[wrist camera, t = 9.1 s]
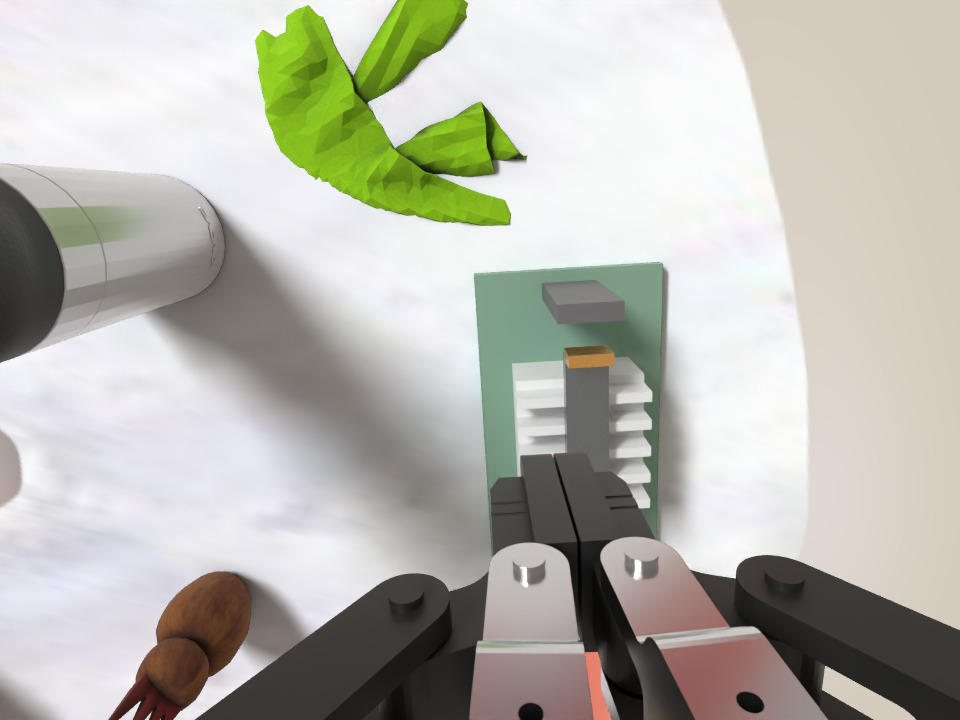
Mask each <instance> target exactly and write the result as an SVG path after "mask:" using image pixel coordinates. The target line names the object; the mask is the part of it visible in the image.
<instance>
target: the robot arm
mask: <svg viewBox="0 0 960 720" xmlns="http://www.w3.org/2000/svg"><path fill="white" fill-rule="evenodd" d="M224 252H225V243H224V234H223V230H222V227H221V223H220V221H219V219H218V217H217V215H216V213H215V211H214V209H213V208H212V207H211V205H210V204H209V203H208V201H207V200H206V199H205V198H204V197H203V196H202V195H201V194H200V193H199V192H198V191H196V190H195V189H194V188H192V187H191V186H189V185H188V184H186V183H184V182H183V181H180V180H177V179H175V178H172V177H169V176H163V175H156V174H142V173H130V172H118V171H104V170H89V169H75V168H61V167H47V166H33V165H18V164H2V163H0V363H1V362H4V361H6V360H9V359H12V358H15V357H18V356H21V355H24V354H27V353H30V352H33V351H35V350H38V349H41V348H44V347H47V346H50V345H53V344H56V343H58V342H61V341H64V340H67V339H69V338H72V337H75V336H78V335H81V334H84V333H87V332H90V331H93V330H96V329H99V328H102V327H105V326H107V325H110V324H113V323H116V322H119V321H122V320H125V319H128V318H131V317H134V316H137V315H140V314H142V313H145V312H148V311H151V310H154V309H157V308H160V307H163V306H166V305H169V304H172V303H175V302H178V301H181V300H184V299H187V298H190V297H193V296H195V295H196V294H198V293H200V292H202V291H204V290H205V289H206V288H207V287H208V286H209V285H210V284H211V283H212V282H213V281H214V279H215V278H216V276H217V275H218V273H219V271H220V268H221V266H222V263H223V259H224ZM520 474H521V477H505V478H498V480H497V481H496V483H495V484H494V485H493V487H492V488H491V489H490V496H491V518H492V541H493V558H492V560H491V562H490V565H489V571H488V572H487V573H486V575H485V576H483V577H482V578H481V579H480V580H478V581H477V582H475V583H473V584H471V585H469V586H466V587H463V588H460V589H457V590H454V591H450V592H449V591H448V589H447V587H446V586H445V584H444V583H443V582H442V581H440V580H439V579H437V578H435V577H433V576H430V575H426V574H417V573H416V574H403V575H399V576H395V577H393V578H390V579H388V580H386V581H384V582H382V583H380V584H379V585H377V586H376V587H375V588H373V589H372V590H371V591H369V592H368V593H366V594H365V595H364V596H362V597H361V598H360V599H358V600H357V601H356V602H354V603H353V604H352V605H350V606H349V607H347V608H346V609H345V610H343V611H342V612H341V613H339V614H338V615H337V616H335V617H334V618H332V619H331V620H330V621H328V622H327V623H326V624H324V625H323V626H322V627H320V628H319V629H318V630H316V631H315V632H313V633H312V634H311V635H309V636H308V637H307V638H305V639H304V640H303V641H301V642H300V643H298V644H297V645H296V646H294V647H293V648H292V649H290V650H289V651H288V652H286V653H285V654H284V655H282V656H281V657H279V658H278V659H277V660H275V661H274V662H273V663H271V664H270V665H269V666H267V667H266V668H265V669H263V670H262V671H260V672H259V673H258V674H256V675H255V676H254V677H252V678H251V679H250V680H248V681H247V682H245V683H244V684H243V685H241V686H240V687H239V688H237V689H236V690H235V691H233V692H232V693H231V694H229V695H228V696H226V697H225V698H224V699H222V700H221V701H220V702H218V703H217V704H216V705H214V706H213V707H211V708H210V709H209V710H207V711H206V712H205V713H203V714H202V715H201V716H199V717H198V718H197V719H195V720H594V718H593V710H592V703H591V696H590V688H589V682H588V674H587V667H586V659H585V652H598V654H599V658H600V661H601V689H602V693H603V696H604V699H605V702H606V705H607V708H608V711H609V714H610V717H611V719H612V720H873V719H871V718H870V717H868V716H866V715H864V714H863V713H861V712H859V711H858V710H856V709H854V708H852V707H851V706H849V705H847V704H845V703H844V702H842V701H840V700H838V699H837V698H835V697H833V696H832V695H830V694H828V693H826V692H825V691H823V690H822V684H823V677H824V669H825V666H827V667H829V668H831V669H833V670H835V671H837V672H838V673H840V674H842V675H844V676H846V677H847V678H849V679H851V680H853V681H855V682H857V683H859V684H861V685H862V686H864V687H866V688H868V689H870V690H871V691H873V692H875V693H877V694H879V695H881V696H882V697H884V698H886V699H888V700H890V701H892V702H894V703H895V704H897V705H899V706H900V707H902V708H904V709H905V710H906V711H908V712H909V713H910V714H911V715H912V716H914V717H915V719H916V720H960V630H958V629H955V628H952V627H951V626H948V625H946V624H943V623H941V622H939V621H937V620H934V619H932V618H930V617H927V616H925V615H923V614H920V613H918V612H916V611H913V610H911V609H909V608H906V607H904V606H902V605H899V604H897V603H895V602H893V601H890V600H888V599H886V598H883V597H881V596H878V595H876V594H874V593H871V592H869V591H867V590H865V589H862V588H860V587H858V586H855V585H853V584H850V583H848V582H846V581H843V580H841V579H839V578H837V577H834V576H832V575H830V574H827V573H825V572H823V571H820V570H818V569H815V568H813V567H811V566H809V565H806V564H804V563H802V562H799V561H796V560H793V559H790V558H786V557H781V556H773V555H761V556H754V557H750V558H748V559H745V560H744V561H742V562H741V563H740V564H739V565H738V567H737V571H736V579H734V578H728V577H721V576H715V575H709V574H704V573H699V572H696V571H692V570H690V569H689V568H688V566H687V565H686V563H685V562H684V561H683V559H682V558H681V556H680V555H679V554H678V553H677V552H676V551H675V550H674V549H673V548H671V547H670V546H668V545H667V544H664V543H662V542H660V541H657V540H656V539H655V537H654V535H653V533H652V531H651V529H650V527H649V525H648V523H647V521H646V519H645V518H644V516H643V514H642V512H641V510H640V508H638V504H637V502H636V500H635V498H634V497H633V494H632V493H631V491H630V489H629V487H628V485H627V483H626V482H625V481H624V480H623V479H621V478H620V477H618V476H617V475H615V474H614V473H613V472H611V471H608V472H594V470H593V467H592V465H591V463H590V460H589V458H588V456H587V453H586V452H569V453H554V454H553V456H552V454H536V455H520ZM579 639H580V640H579Z"/></svg>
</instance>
